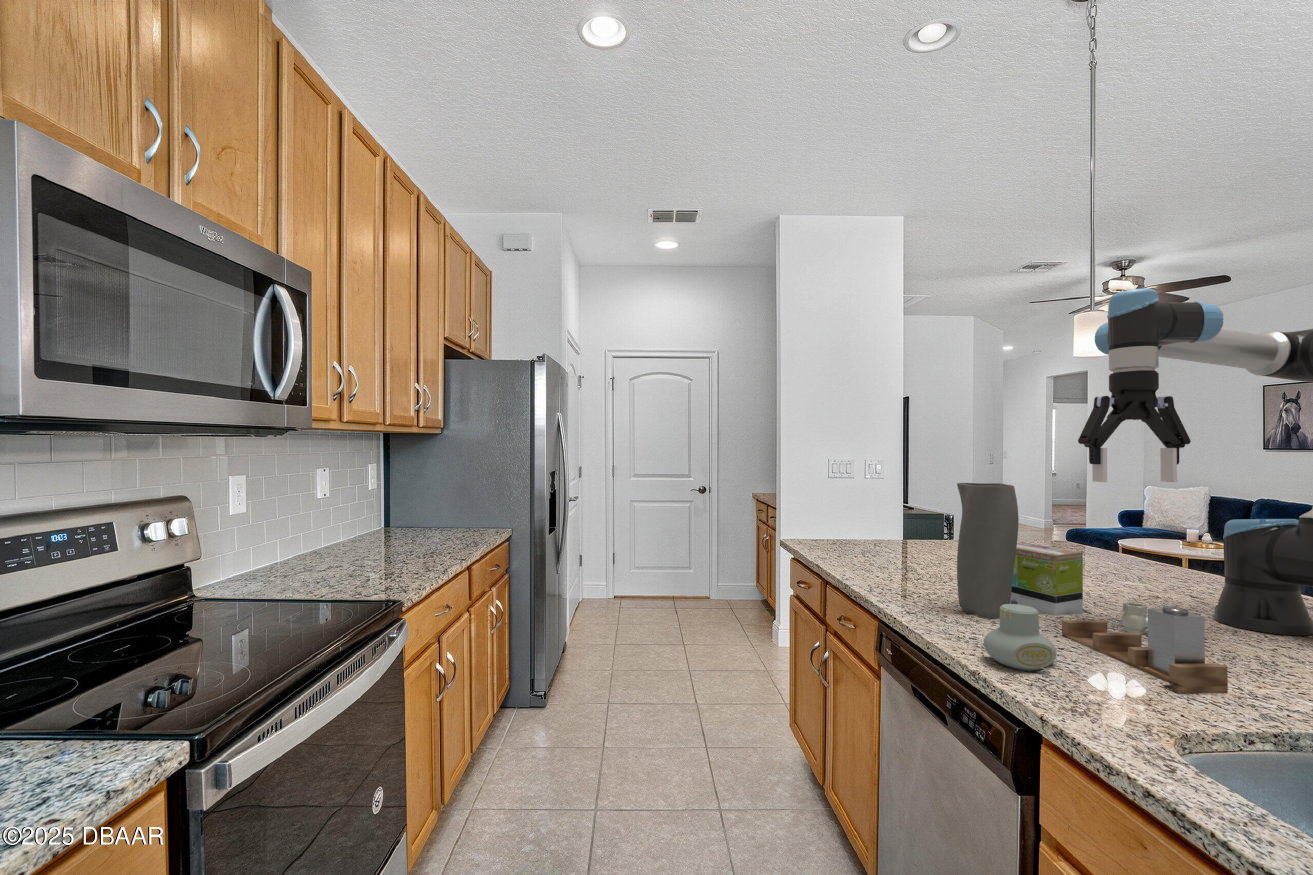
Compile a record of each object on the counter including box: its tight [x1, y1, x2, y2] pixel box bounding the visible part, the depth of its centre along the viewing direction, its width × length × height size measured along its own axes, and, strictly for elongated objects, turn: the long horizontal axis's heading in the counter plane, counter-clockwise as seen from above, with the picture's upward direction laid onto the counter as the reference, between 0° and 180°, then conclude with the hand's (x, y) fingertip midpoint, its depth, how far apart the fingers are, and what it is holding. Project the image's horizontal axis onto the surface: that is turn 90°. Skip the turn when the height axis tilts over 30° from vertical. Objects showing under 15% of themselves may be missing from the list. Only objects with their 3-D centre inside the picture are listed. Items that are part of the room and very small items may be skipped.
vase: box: [956, 482, 1019, 620], centre depth 136 cm, size 12×12×30 cm
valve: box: [1121, 602, 1202, 636], centre depth 119 cm, size 7×7×12 cm
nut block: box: [1147, 605, 1206, 677], centre depth 99 cm, size 5×5×11 cm
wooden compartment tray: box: [1061, 619, 1229, 694], centre depth 106 cm, size 8×26×4 cm, turn 2°
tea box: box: [1010, 541, 1084, 616], centre depth 143 cm, size 15×10×15 cm, turn 23°
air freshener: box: [983, 604, 1057, 672], centre depth 106 cm, size 11×8×10 cm
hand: (1134, 482), depth 115 cm, fingers open, 13 cm apart
